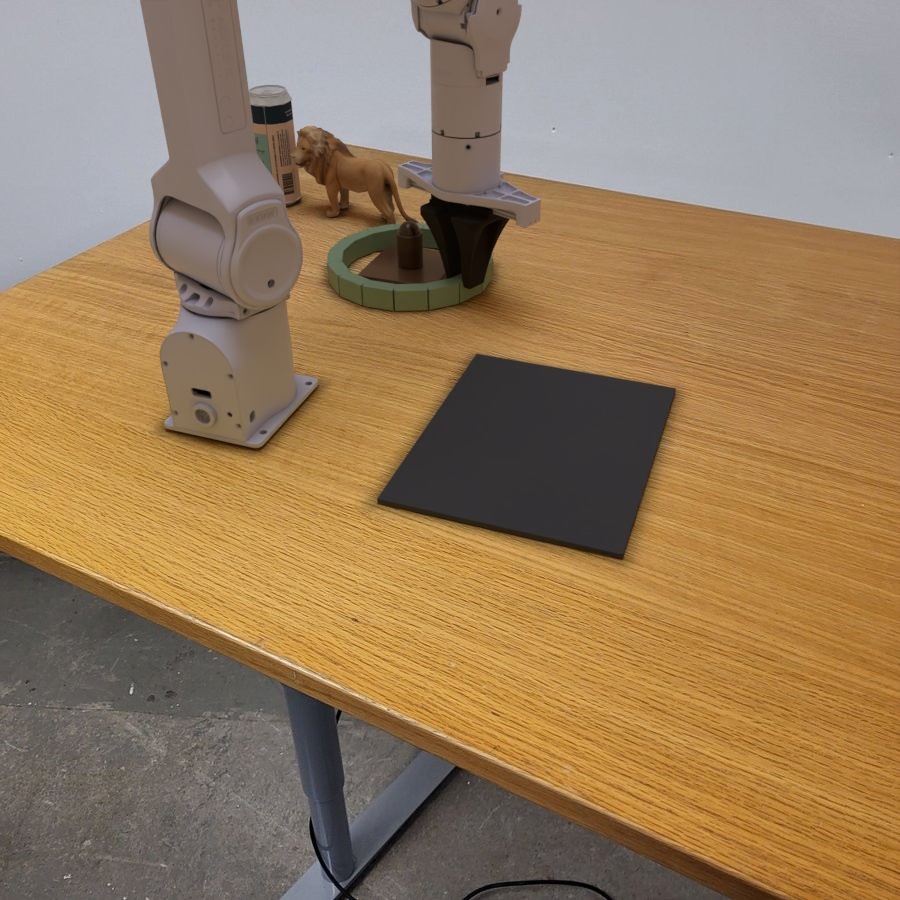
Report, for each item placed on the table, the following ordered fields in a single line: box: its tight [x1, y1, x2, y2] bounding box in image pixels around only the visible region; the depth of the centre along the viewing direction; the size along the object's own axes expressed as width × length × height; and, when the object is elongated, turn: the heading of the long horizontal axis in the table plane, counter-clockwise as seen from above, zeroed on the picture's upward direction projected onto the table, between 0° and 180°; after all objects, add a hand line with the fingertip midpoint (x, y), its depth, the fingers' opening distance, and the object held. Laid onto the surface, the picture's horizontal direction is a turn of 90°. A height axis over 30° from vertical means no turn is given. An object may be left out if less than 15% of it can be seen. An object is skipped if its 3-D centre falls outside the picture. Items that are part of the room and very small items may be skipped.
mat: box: [376, 353, 677, 560], centre depth 66 cm, size 20×16×1 cm
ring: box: [326, 222, 494, 312], centre depth 88 cm, size 15×15×2 cm
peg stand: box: [357, 220, 447, 284], centre depth 87 cm, size 8×8×5 cm
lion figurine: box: [290, 125, 420, 225], centre depth 98 cm, size 15×5×9 cm, turn 62°
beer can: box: [248, 84, 302, 207], centre depth 101 cm, size 5×5×12 cm
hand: (465, 281), depth 84 cm, fingers closed on ring, 1 cm apart
